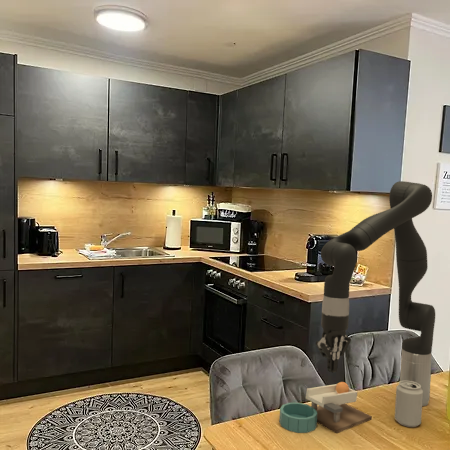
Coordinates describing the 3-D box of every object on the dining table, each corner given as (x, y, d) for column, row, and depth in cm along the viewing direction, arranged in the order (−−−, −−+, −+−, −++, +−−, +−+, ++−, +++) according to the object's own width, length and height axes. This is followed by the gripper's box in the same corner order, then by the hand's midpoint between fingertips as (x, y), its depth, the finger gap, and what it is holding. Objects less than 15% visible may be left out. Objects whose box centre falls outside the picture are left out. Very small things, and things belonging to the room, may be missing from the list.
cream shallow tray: (338, 392, 149) (339, 383, 149) (367, 406, 140) (368, 396, 140) (305, 398, 140) (306, 388, 140) (334, 413, 131) (335, 402, 131)
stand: (337, 402, 152) (338, 384, 151) (371, 419, 141) (372, 400, 140) (302, 414, 142) (303, 395, 142) (336, 433, 131) (337, 412, 131)
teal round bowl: (297, 412, 144) (298, 399, 143) (323, 426, 135) (324, 413, 135) (272, 420, 137) (273, 407, 137) (297, 436, 129) (298, 422, 129)
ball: (340, 392, 147) (342, 380, 147) (350, 397, 144) (352, 384, 144) (332, 392, 144) (334, 379, 145) (342, 397, 141) (344, 384, 141)
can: (423, 430, 135) (425, 390, 135) (396, 426, 137) (398, 387, 136) (417, 418, 143) (420, 380, 142) (392, 415, 144) (394, 377, 144)
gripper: (340, 306, 138) (337, 363, 139) (309, 311, 131) (306, 371, 132) (360, 312, 132) (357, 371, 133) (329, 317, 125) (326, 380, 126)
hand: (332, 371), depth 132 cm, fingers closed
